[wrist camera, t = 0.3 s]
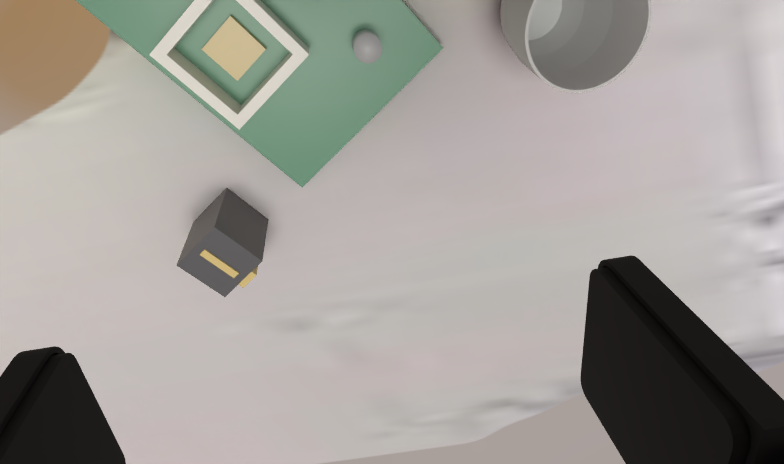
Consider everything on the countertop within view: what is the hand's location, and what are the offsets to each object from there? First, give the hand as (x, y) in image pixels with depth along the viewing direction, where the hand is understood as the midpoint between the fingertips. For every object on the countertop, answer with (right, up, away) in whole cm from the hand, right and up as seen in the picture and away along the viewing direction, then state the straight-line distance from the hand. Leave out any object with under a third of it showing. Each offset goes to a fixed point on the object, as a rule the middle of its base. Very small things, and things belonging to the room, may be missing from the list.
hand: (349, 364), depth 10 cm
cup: (+12, +20, +33) cm, 40 cm away
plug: (-13, +3, +38) cm, 40 cm away
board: (-9, +18, +30) cm, 36 cm away
